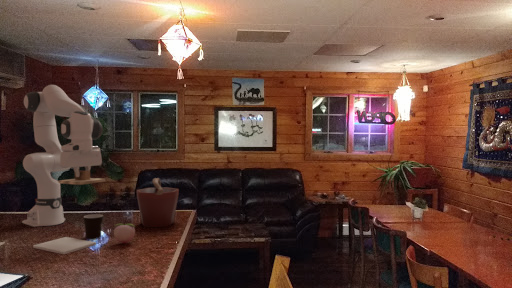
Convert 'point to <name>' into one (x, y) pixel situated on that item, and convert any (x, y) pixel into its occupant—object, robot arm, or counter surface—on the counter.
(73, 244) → the rubber mat
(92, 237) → the coffee mug
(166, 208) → the bucket
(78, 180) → the birch lid
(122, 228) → the decorative fruit
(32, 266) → the counter surface
